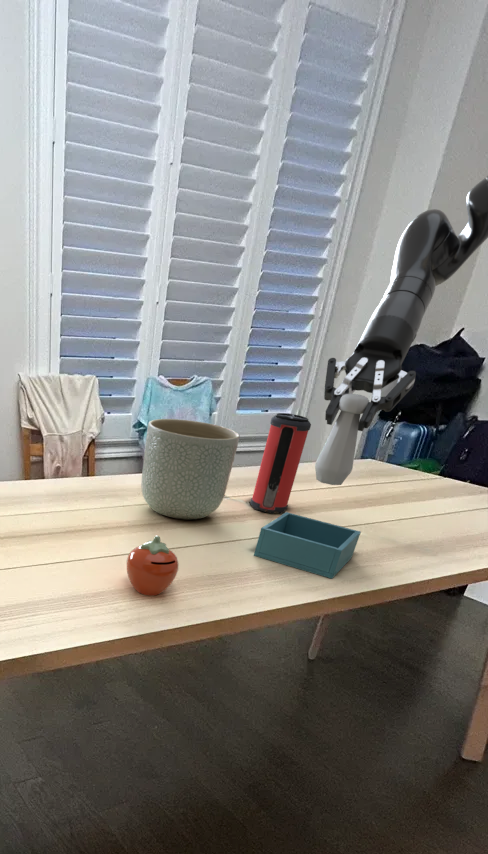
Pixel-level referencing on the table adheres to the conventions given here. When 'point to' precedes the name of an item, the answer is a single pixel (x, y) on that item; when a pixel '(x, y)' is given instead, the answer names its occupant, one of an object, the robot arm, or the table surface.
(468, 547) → the table surface
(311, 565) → the bin
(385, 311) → the robot arm
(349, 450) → the salt shaker
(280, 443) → the speaker
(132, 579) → the tomato
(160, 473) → the planter
